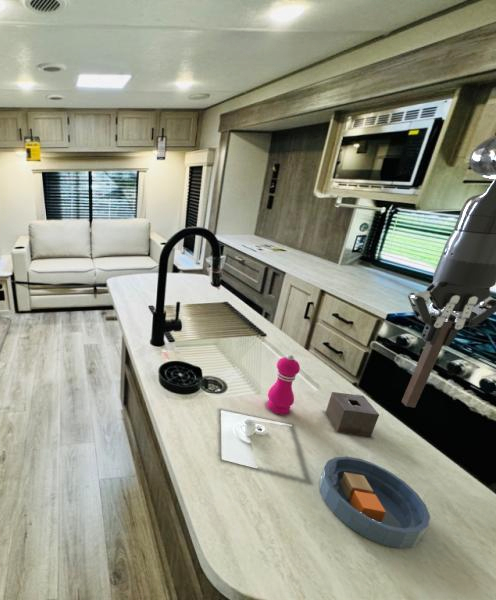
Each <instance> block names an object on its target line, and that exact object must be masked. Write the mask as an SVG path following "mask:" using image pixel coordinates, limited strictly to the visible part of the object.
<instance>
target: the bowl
mask: <svg viewBox="0 0 496 600" xmlns="http://www.w3.org/2000/svg"><path fill="white" fill-rule="evenodd" d="M344 472H346V473H352V474H358V475H363V476H364V477H365V478H366V480H367V482H368V483H369V485H370V486H371V488H372V490H373V493H372V494H375V495H376V496H377V498H378V500H379V501H380V503H381V505H382V506H383V508H384V509H385V511H386V513H385V516H384V518H383V520H382V522H381V523H380V522H378V521H375V520H373V519H371V518H369V517H367V516H366V515H364V514H363V513H361V512H359V511H358V510H356V509H355V508H353V507H352V506H351V505H350V500H348V499H347V497H346V495H345V493H344V491H343V489H342V487H341V486H340V482H341V479H342V477H343V474H344ZM318 483H319V488H318V489H319V492H320V495H321V497H322V499H323V501H324V503H325V504H326V506H327V507H328V508H329V510H330V511H331V512H332V513H333V515H334V516H336V517H337V518H338V519H339V520H340V521H341V522H342V523H344V525H345V526H347V527H348V528H350V529H351V530H352V531H355V532H356V533H358V534H359V535H360V536H362V537H364V538H366V539H368V540H371V541H372V542H374V543H377V544H379V545H382V546H386V547H390V548H395V549H407V548H412V547H414V546H415V545H417V544H418V543H420V542H421V540H422V538H423V537H424V535H425V533H426V531H427V529H428V528H429V524H430V520H431V515H430V513H429V509H428V507H427V505H426V503H425V502H424V501H423V499H422V497H420V495H419V494H418V492H416V491H415V490H414V489H413V488H412V487H411V486H410V485H409V484H407V482H405V480H403V479H402V478H400V477H398V476H397V475H396V474H394V473H393V472H391V471H389V470H388V469H386V468H384V467H381V466H379V465H377V464H376V463H374V462H371V461H368V460H365V459H363V458H358V457H352V456H347V455H346V456H335V457H333V458H331V459H328V460H327V462H326V463H325V465H324V466H323V469H322V472H321V475H320V478H319V481H318Z"/></svg>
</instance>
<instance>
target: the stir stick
mask: <svg viewBox="0 0 496 600" xmlns="http://www.w3.org/2000/svg"><path fill="white" fill-rule="evenodd" d="M452 324H453V322H452V321H450V320H448V319H445V321H444V323H443V325H442V326H441V327H440V328H442V329H441V331H440V333H439V336H438V338H437V340H436V342H435V344H434V345H431V344H427V343H426V342H425V345H424V347H423V350H422V352H421V354H420V357H419V358H418V361H417V363H416V366H415V368H414V371H413V373H412V376H411V378H410V380H409V382H408V385H407V387H406V389H405V392H404V394H403V397H402V399H401V403H402V404H403V405H404V406H405V407H408V408H416V406H417V404H418V403H419V399H420V398H421V395H422V393H423V391H424V388H425V386H426V384H427V382H428V379H429V377H430V376H431V374H432V370H433V368H434V366H435V364H436V361H437V360H438V357H439V355H440V353H441V351H442V349H443V347H444V346H443V344H444V341H445V339H446V337H447V335H448V332H449V330H450V328H451V326H452Z"/></svg>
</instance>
